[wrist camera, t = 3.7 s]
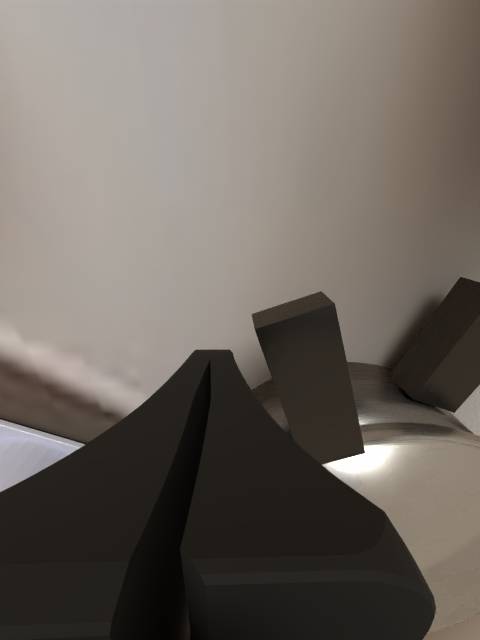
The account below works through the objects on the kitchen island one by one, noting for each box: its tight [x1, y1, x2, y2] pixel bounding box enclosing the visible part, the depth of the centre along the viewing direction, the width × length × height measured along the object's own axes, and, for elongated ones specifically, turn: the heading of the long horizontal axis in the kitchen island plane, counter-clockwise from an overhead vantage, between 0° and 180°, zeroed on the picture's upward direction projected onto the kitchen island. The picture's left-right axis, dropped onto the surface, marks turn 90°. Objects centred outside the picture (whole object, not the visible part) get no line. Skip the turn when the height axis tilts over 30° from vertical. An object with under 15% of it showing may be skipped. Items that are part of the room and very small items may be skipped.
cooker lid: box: [252, 292, 480, 634], centre depth 12 cm, size 25×18×3 cm
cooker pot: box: [252, 277, 480, 440], centre depth 16 cm, size 24×18×5 cm
